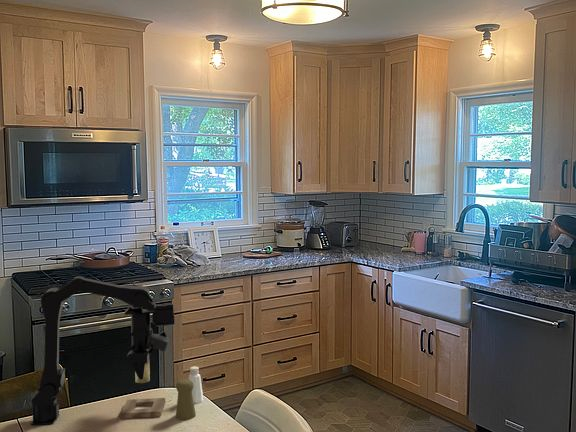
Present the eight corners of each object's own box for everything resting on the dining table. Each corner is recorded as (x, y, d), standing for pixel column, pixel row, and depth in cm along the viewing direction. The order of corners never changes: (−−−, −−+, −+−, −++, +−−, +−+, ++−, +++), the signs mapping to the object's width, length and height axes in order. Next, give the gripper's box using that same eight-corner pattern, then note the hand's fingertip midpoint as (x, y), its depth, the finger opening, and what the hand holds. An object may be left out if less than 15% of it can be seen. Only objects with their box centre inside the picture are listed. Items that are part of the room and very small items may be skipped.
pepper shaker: (191, 420, 171) (190, 384, 171) (172, 419, 173) (171, 383, 172) (198, 412, 177) (197, 377, 177) (180, 411, 179) (179, 376, 178)
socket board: (120, 418, 174) (120, 413, 174) (127, 404, 185) (127, 399, 185) (160, 416, 175) (160, 411, 175) (165, 402, 186) (165, 397, 186)
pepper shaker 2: (183, 402, 186) (182, 368, 185) (193, 396, 191) (192, 363, 190) (196, 405, 183) (195, 371, 183) (206, 399, 188) (206, 366, 188)
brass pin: (134, 383, 177) (133, 362, 176) (136, 378, 181) (136, 358, 181) (148, 382, 177) (148, 362, 177) (150, 377, 182) (150, 357, 181)
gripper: (163, 334, 170) (165, 386, 170) (170, 319, 188) (172, 366, 189) (125, 335, 169) (126, 388, 170) (136, 320, 187) (137, 367, 188)
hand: (142, 376), depth 179 cm, fingers closed on brass pin, 4 cm apart
